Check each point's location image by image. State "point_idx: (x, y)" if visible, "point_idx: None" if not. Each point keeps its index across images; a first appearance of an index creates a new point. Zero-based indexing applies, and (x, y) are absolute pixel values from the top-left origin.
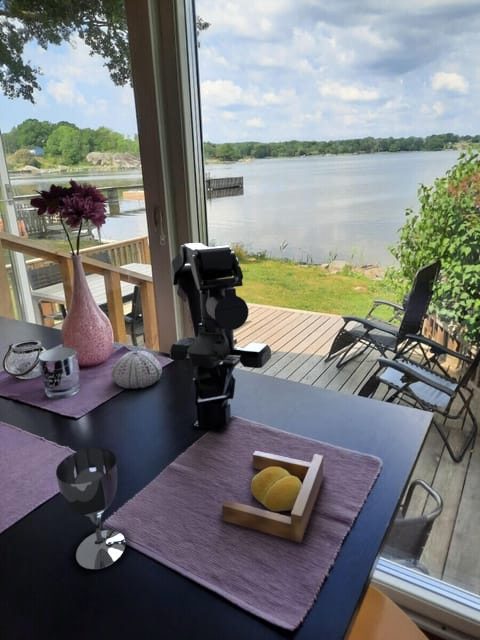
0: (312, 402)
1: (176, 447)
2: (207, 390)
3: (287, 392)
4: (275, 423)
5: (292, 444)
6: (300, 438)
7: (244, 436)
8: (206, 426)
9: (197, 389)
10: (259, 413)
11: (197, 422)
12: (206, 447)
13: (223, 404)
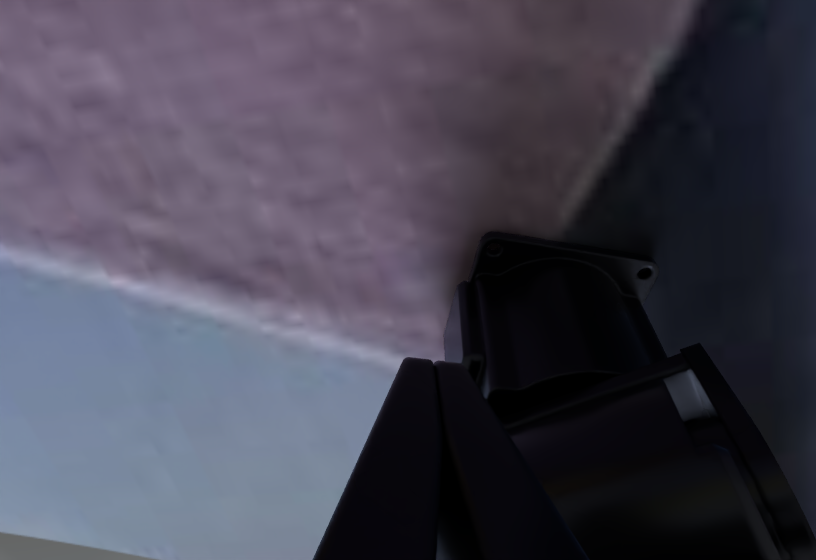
0: (103, 492)
1: (764, 33)
2: (633, 451)
3: (239, 537)
4: (205, 341)
5: (34, 183)
6: (20, 241)
7: (333, 215)
8: (578, 261)
9: (747, 456)
10: (314, 403)
11: (640, 289)
12: (547, 69)
13: (482, 389)
